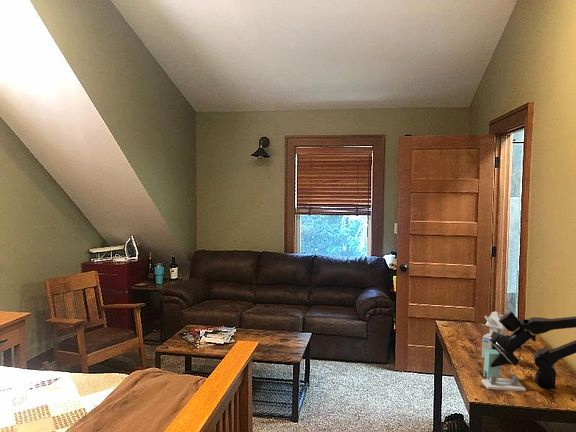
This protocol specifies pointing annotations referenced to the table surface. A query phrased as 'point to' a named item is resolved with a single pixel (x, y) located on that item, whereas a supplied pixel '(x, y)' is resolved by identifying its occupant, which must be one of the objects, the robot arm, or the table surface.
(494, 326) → the white mech figurine
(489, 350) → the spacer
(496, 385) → the shaft bracket
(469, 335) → the table surface
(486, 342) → the light bulb box
